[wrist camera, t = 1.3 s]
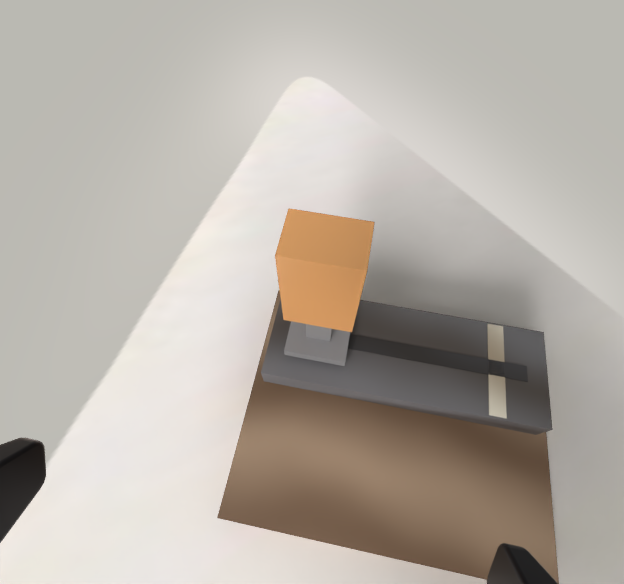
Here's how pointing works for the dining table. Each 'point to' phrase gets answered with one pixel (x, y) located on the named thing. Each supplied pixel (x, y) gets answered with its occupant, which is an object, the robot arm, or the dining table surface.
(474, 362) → the fader console
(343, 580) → the dining table surface
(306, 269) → the cap
